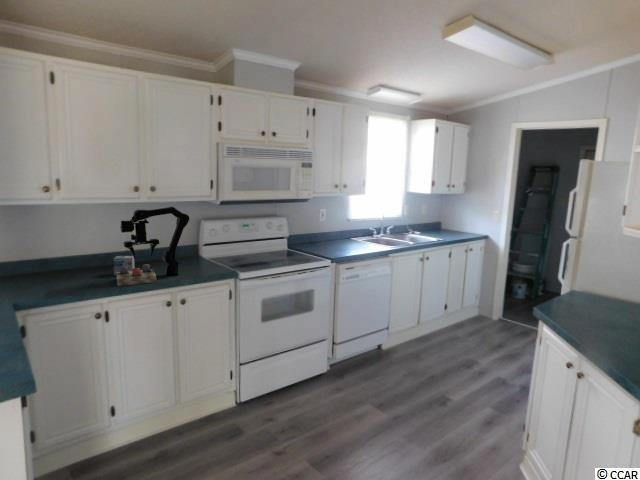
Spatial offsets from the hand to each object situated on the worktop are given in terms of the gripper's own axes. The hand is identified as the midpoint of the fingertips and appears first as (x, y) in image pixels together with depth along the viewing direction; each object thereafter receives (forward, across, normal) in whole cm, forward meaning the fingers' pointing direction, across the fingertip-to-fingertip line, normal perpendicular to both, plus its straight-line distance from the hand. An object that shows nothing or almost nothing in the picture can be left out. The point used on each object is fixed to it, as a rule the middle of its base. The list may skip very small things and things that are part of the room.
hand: (142, 257), depth 239 cm
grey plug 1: (+9, +11, -1) cm, 14 cm away
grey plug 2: (+9, -1, +1) cm, 9 cm away
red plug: (+9, +6, +8) cm, 13 cm away
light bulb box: (+13, +8, -17) cm, 22 cm away
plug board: (+13, +5, +4) cm, 14 cm away
